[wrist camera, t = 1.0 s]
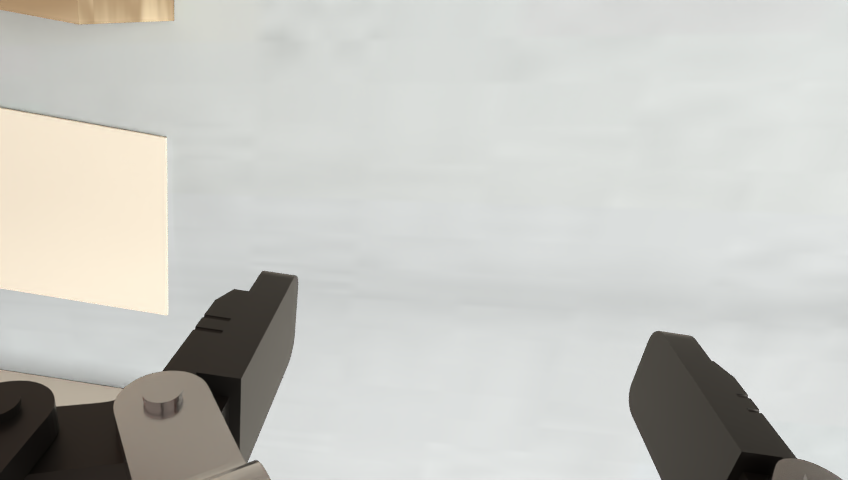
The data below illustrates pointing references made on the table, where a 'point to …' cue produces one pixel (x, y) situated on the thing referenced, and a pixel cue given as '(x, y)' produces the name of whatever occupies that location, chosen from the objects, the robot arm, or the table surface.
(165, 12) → the bridge
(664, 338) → the robot arm
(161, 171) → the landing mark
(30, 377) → the wall
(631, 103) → the table surface
